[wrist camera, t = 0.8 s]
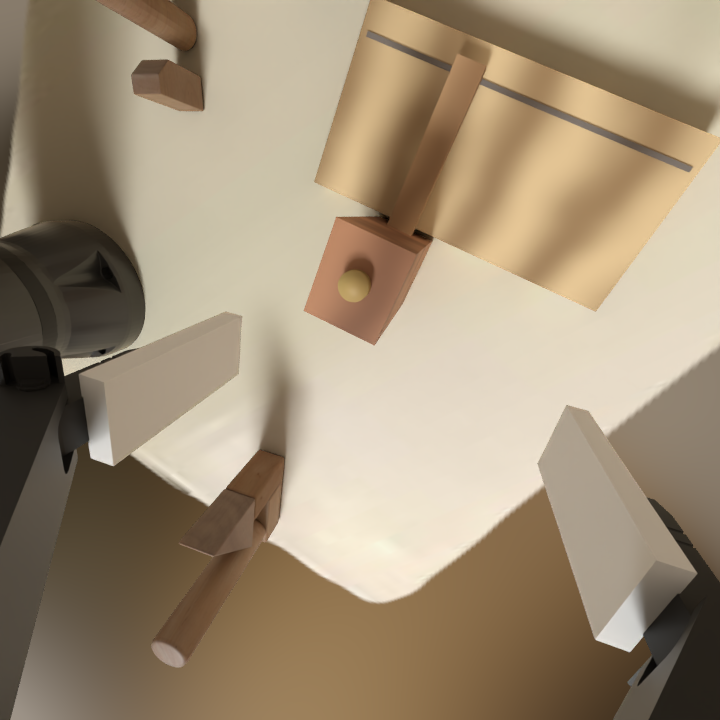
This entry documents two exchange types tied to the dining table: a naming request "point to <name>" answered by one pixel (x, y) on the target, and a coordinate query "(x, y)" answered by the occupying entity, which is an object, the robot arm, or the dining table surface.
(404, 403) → the dining table surface
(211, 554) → the wooden post assembly
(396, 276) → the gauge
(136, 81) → the wood blocks
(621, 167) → the board
